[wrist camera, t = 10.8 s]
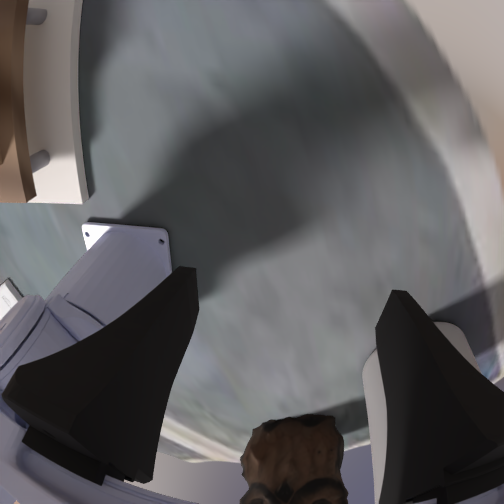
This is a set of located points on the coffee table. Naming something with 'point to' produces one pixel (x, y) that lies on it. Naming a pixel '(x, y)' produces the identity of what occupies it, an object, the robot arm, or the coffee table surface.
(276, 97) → the coffee table surface
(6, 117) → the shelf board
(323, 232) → the coffee table surface
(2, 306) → the external hard drive
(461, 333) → the cylinder vase
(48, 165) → the peg base
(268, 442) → the owl
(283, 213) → the coffee table surface
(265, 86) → the coffee table surface
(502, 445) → the robot arm
